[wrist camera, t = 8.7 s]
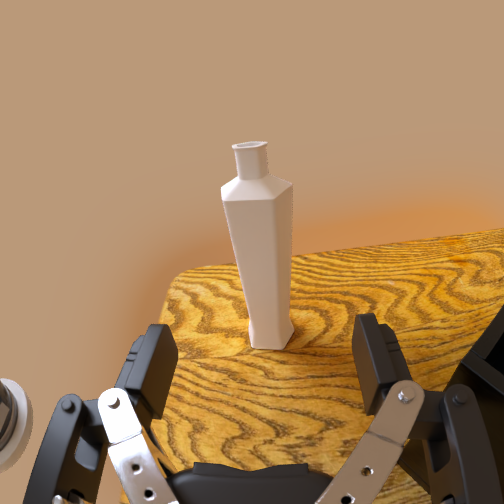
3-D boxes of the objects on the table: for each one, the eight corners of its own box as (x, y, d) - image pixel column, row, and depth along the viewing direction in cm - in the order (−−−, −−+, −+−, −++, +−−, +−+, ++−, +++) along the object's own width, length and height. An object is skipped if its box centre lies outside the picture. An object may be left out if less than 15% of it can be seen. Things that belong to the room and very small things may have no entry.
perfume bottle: (305, 348, 22) (299, 145, 15) (249, 358, 22) (215, 156, 14) (292, 311, 26) (280, 135, 19) (243, 320, 26) (214, 144, 18)
